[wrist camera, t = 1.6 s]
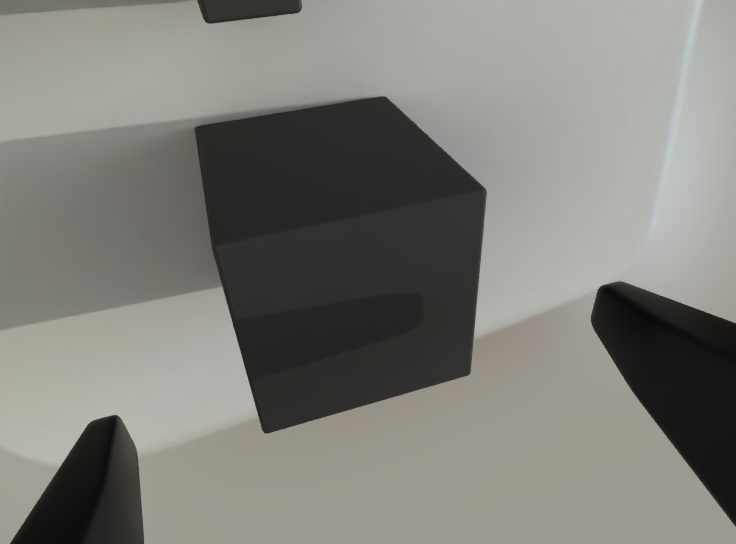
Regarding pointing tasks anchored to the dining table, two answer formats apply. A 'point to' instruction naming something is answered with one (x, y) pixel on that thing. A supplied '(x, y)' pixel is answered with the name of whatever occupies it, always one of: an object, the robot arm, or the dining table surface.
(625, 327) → the robot arm
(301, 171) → the pad block
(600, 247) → the dining table surface
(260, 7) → the base pad
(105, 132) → the dining table surface
